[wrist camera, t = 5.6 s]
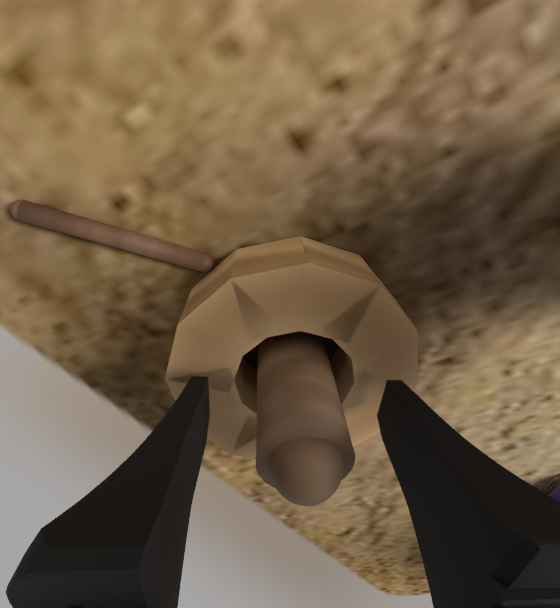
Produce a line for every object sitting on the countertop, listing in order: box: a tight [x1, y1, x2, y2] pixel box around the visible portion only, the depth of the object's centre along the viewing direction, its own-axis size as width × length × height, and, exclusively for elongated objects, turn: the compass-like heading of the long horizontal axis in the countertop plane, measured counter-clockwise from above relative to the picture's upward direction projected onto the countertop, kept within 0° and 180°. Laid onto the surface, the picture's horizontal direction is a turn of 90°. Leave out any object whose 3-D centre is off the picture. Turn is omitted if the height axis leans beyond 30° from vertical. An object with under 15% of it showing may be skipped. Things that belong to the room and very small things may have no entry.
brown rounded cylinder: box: [256, 331, 355, 506], centre depth 14 cm, size 3×3×8 cm
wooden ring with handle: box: [10, 200, 419, 459], centre depth 15 cm, size 18×10×3 cm, turn 71°
